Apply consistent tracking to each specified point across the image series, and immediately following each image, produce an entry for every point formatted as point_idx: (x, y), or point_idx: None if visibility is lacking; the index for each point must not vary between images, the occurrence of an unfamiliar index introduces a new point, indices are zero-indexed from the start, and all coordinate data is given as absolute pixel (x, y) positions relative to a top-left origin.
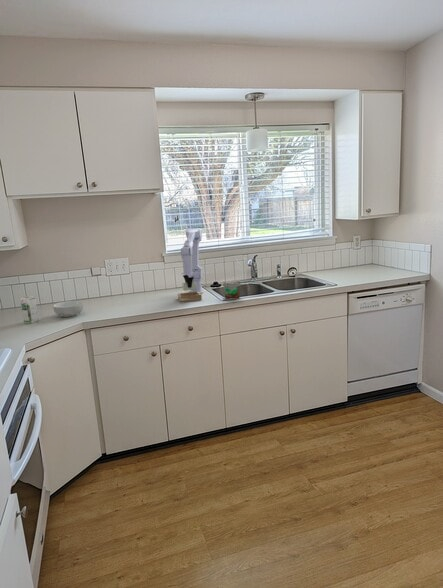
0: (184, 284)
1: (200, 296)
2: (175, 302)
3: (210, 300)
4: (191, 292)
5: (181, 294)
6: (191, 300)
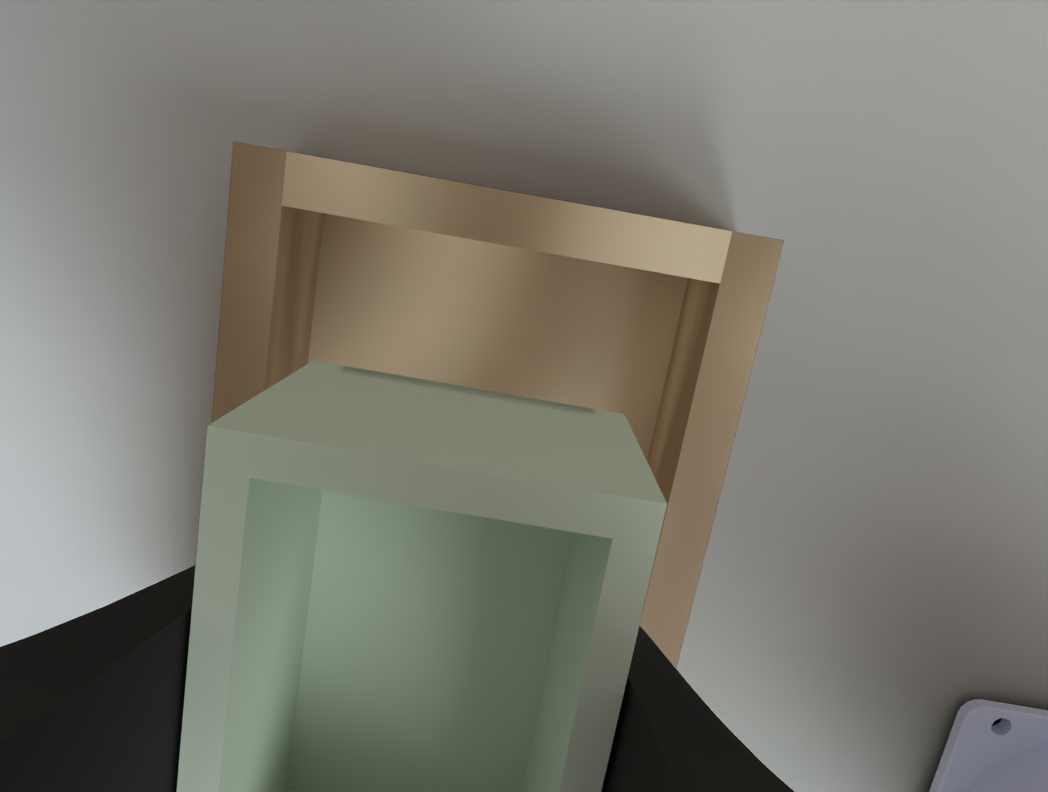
0: (226, 477)
1: None
2: (358, 11)
3: None
4: None
5: (698, 336)
6: None
